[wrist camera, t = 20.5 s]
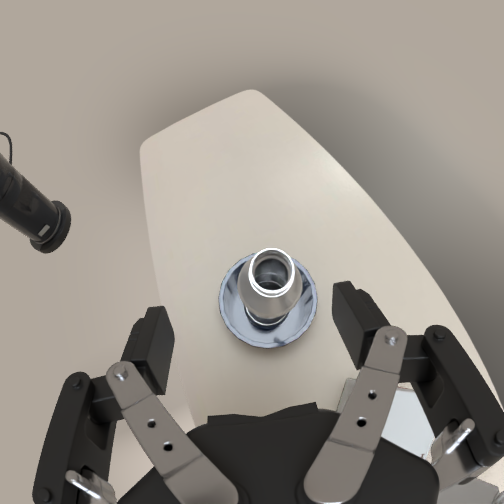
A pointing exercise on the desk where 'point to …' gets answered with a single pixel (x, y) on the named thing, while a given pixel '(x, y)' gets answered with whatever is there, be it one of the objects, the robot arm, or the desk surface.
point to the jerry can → (472, 494)
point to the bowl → (261, 337)
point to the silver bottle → (269, 287)
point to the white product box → (402, 421)
